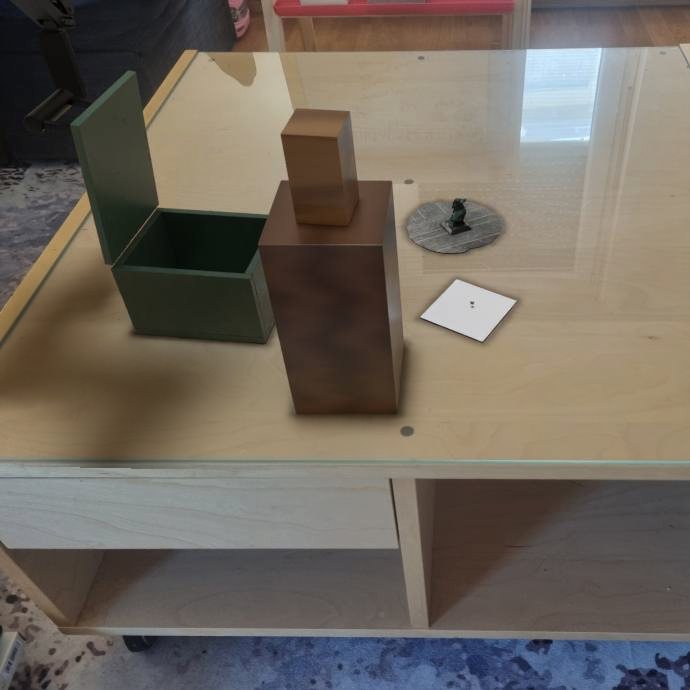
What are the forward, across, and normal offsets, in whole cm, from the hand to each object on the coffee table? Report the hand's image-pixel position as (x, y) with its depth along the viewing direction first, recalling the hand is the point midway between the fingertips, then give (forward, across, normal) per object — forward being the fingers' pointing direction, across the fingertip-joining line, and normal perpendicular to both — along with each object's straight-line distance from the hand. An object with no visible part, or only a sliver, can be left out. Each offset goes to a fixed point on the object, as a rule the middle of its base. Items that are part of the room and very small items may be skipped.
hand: (38, 126), depth 72 cm
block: (+1, -10, -31) cm, 32 cm away
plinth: (+21, -9, -31) cm, 39 cm away
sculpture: (+21, +19, -38) cm, 47 cm away
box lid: (+4, 0, -7) cm, 8 cm away
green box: (+21, 0, -13) cm, 25 cm away
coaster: (+21, +3, -42) cm, 47 cm away
